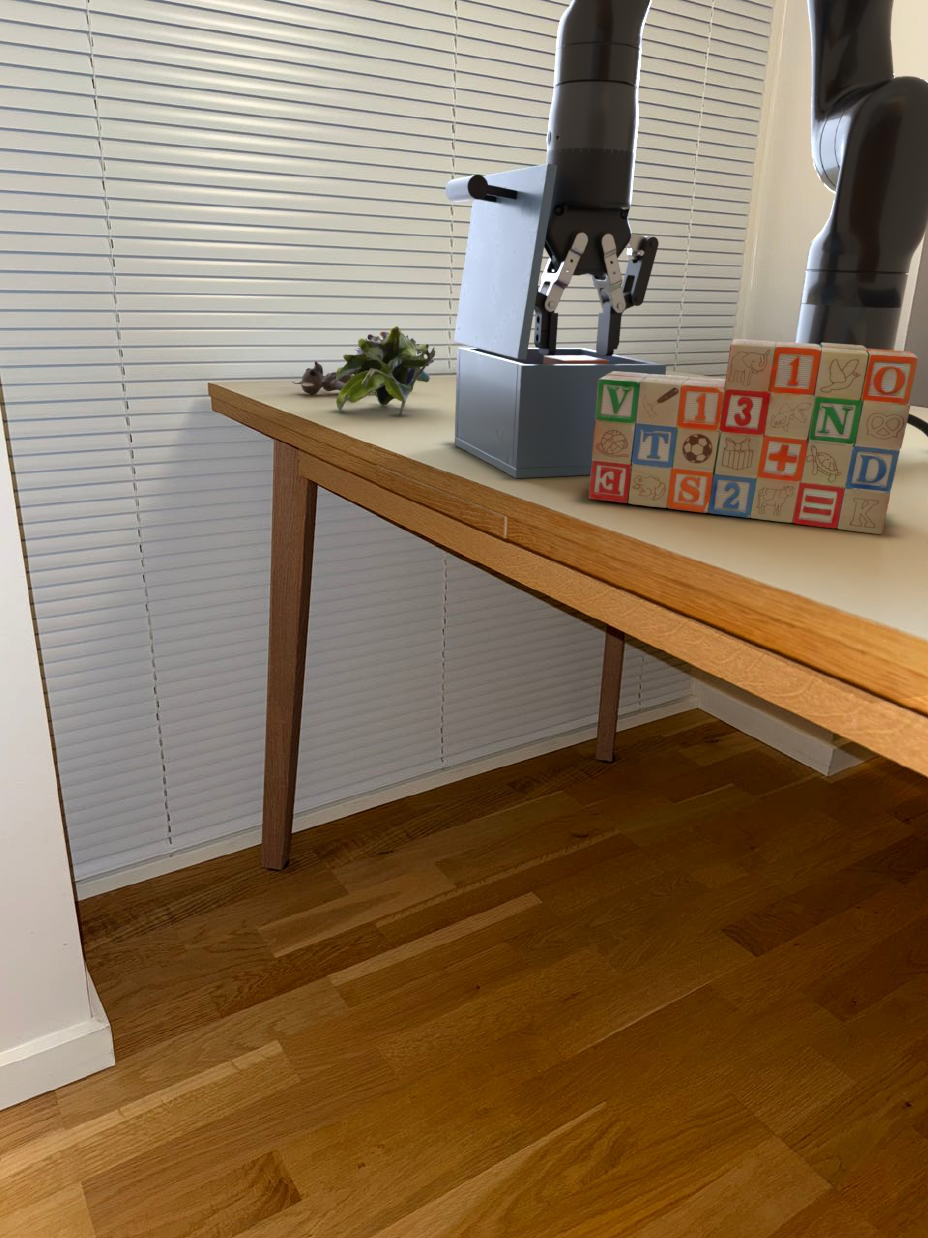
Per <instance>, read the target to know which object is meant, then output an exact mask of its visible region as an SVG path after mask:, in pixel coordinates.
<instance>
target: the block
mask: <svg viewBox="0 0 928 1238" xmlns="http://www.w3.org/2000/svg"><path fill="white" fill-rule="evenodd" d="M543 364H609V360H605V359H601V358H596V357H591V356H587V355H555V356H544V358H543Z"/></svg>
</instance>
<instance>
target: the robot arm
mask: <svg viewBox="0 0 928 1238" xmlns="http://www.w3.org/2000/svg"><path fill="white" fill-rule="evenodd" d="M652 1H653V0H572V1H571V2H570V4H569V5H568V7H567V8H566V9H565V11H564V12H563V14H562V16H561V17H560V20H559V23H558V27H557V35H556V42H555V43H556V44H555V58H554V61H555V62H554V76H553V91H552V99H551V105H550V109H549V110H550V111H549V117H548V128H547V129H548V130H547V134H546V147H547V148H546V163H545V164H553V165H557V170H556V176H555V182H554V188H553V195H552V201H551V207H550V214H549V220H548V226H547V232H546V239H545V245H544V250H545V252H546V254H547V256H548V257H549V258H548V260H547V263H546V265H545V268H544V270H543V272H542V274H541V278H540V281H541V283H540V286H539V287H538V289H537V295H536V301H535V307H534V313H535V315H534V333H533V335H534V336H533V343H534V348H539V353H540V354H541V355H545V356H554V355H555V353H556V348H557V337H558V324H559V312H556V310H557V308H558V306H559V303H560V301H561V299H562V296H563V293H564V291H565V289H567V288H568V286H569V285H570V284H571V280H572V278H573V276H577V277H578V276H584V277H585V276H586V277H591V281H592V285H593V286H594V288H595V289H596V291H597V294H598V299H599V302H600V306H601V309H602V312H598V317H597V318H598V320H597V332H596V344H595V351H596V353H597V354H598V355H602V356H612V355H613V354H615V350H618V347H619V345H620V336H621V329H622V328H621V327H622V317H623V314H624V312H625V311H626V310H628V309H630V308H633V307H640V306H641V305H642V304H643V303H644V300H645V296H646V292H647V289H648V285H649V283H650V278H651V274H652V271H653V267H654V263H655V259H656V256H657V252H658V249H659V245H660V244H659V239H658V238H657V237H656V236H643V235H641V234H637V233H634V232H632V228H631V226H630V223H629V212H630V209H631V207H632V198H633V186H634V177H635V176H634V175H635V166H636V153H637V152H636V151H637V143H638V141H637V140H638V131H639V130H638V129H639V87H640V86H639V84H640V73H641V72H640V71H641V64H642V63H641V60H642V50H643V49H642V47H643V31H644V26H645V22H646V19H647V16H648V13H649V10H650V7H651V4H652ZM806 2H807V11H808V12H807V13H808V21H809V29H810V30H809V31H810V32H809V33H810V46H811V48H810V49H811V106H810V107H811V108H810V110H811V112H810V115H811V116H810V145H811V146H810V147H811V157H812V161H813V166H814V169H815V172H816V174H817V176H818V177H819V180H820V181H821V182H822V184H823V185H824V186H825V187H826V188H827V189H828V190H829V191H831V192H832V193H834V198H833V204H832V207H831V210H830V211H831V212H830V214H829V217H828V219H827V221H826V223H825V225H824V227H823V228H822V230H821V231H820V232H819V233H818V234H817V235H816V237H814V239H812V241H811V243H810V244H809V247H808V252H807V258H806V263H805V271H804V276H803V283H802V291H801V296H800V304H799V311H798V315H797V316H798V317H797V324H796V328H795V329H796V330H795V336H794V342H793V343H809V344H818V345H820V343H834V344H848V345H862V346H864V347H865V348H868V349H881V350H895V347H896V341H897V337H898V330H899V325H900V320H901V316H902V310H903V309H902V308H903V304H904V300H905V299H904V298H905V293H906V288H907V283H908V279H909V278H908V277H909V272H910V269H911V263H912V260H913V256H914V254H915V252H916V251H917V250H918V248H919V246H920V244H921V243H922V240H923V239H924V237H925V233H926V231H927V228H928V81H927V80H925V79H924V78H921V77H917V76H912V75H901V76H895V71H894V60H893V59H894V58H893V47H892V18H893V8H894V2H895V1H894V0H806ZM625 249H627V250H626V256H627V258H628V262H627V265H626V269H625V274H624V277H623V276H622V273H621V267H620V264H619V260H618V259H619V258H620V256H621V255H622V253H623V252H624V250H625ZM907 424H908V425H910V426H912V427H914V428H916V429H918V430H919V431H921V432H922V433H923V434H924V435H925V436H926V437H927V438H928V421H925V420H923V419H922V418H920V417H918V416H916V415H915V414H911V413H909V416H908V420H907Z"/></svg>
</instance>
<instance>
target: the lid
mask: <svg viewBox="0 0 928 1238" xmlns="http://www.w3.org/2000/svg"><path fill="white" fill-rule="evenodd" d="M556 170H557V165H553V164H546V163H544V164H540V165H539V164H538V165H534V166H528V167H524V168H518V169H513V170H508V171H502V172H497V173H492V174H487V175H482V174H473V175H469V176H462V177H457V178H453V179H451V180H449V181H448V182H447V184H446V185H445V195H446V197H447V199H448V200H449V201H450V202H452V203H462V202H469V201H472V205H471V211H470V219H469V225H468V226H469V227H468V233H467V241H466V247H465V255H464V256H465V257H464V262H463V263H464V264H463V270H462V278H461V286H460V294H459V301H458V308H457V315H456V321H455V322H456V323H455V330H454V336H453V337H454V338H453V343H455V344H459V345H463V346H466V347H469V348H477V349H481V350H485V351H489V352H493V353H497V354H500V355H504V356H508V357H512V358H516V359H521V360H526V358H527V351H528V348H529V346H530V345H529V344H530V337H531V333H532V325H533V319H534V313H535V310H534V307H535V301H536V295H537V289H539V282H540V276H541V270H542V269H541V268H542V264H543V256H544V250H545V248H544V245H545V239H546V232H547V226H548V220H549V214H550V207H551V201H552V195H553V188H554V182H555V176H556Z"/></svg>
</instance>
